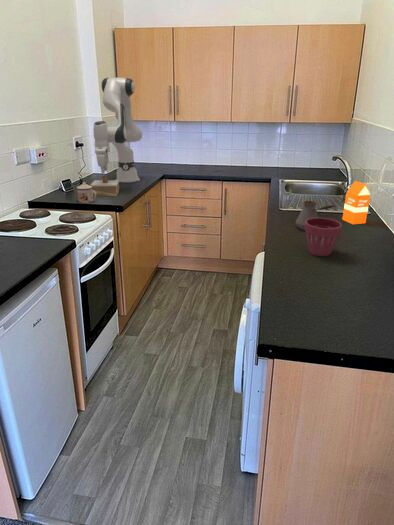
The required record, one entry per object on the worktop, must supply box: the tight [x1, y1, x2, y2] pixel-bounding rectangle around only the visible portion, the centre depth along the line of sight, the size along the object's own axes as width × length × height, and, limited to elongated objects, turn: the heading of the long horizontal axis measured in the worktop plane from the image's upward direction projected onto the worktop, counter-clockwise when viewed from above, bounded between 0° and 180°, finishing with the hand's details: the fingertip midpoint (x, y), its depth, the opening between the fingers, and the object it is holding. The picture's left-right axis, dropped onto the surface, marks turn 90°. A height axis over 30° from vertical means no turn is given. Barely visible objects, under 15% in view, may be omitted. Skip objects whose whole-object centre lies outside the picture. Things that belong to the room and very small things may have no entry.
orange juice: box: [341, 180, 371, 225], centre depth 197 cm, size 8×9×20 cm
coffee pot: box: [295, 200, 337, 231], centre depth 183 cm, size 21×12×15 cm, turn 27°
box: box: [92, 182, 120, 197], centre depth 252 cm, size 13×15×7 cm
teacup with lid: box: [76, 182, 97, 204], centre depth 233 cm, size 12×9×12 cm
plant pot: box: [304, 217, 343, 257], centre depth 158 cm, size 14×14×13 cm
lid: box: [90, 175, 120, 186], centre depth 249 cm, size 14×16×5 cm
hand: (104, 171), depth 247 cm, fingers open, 8 cm apart
